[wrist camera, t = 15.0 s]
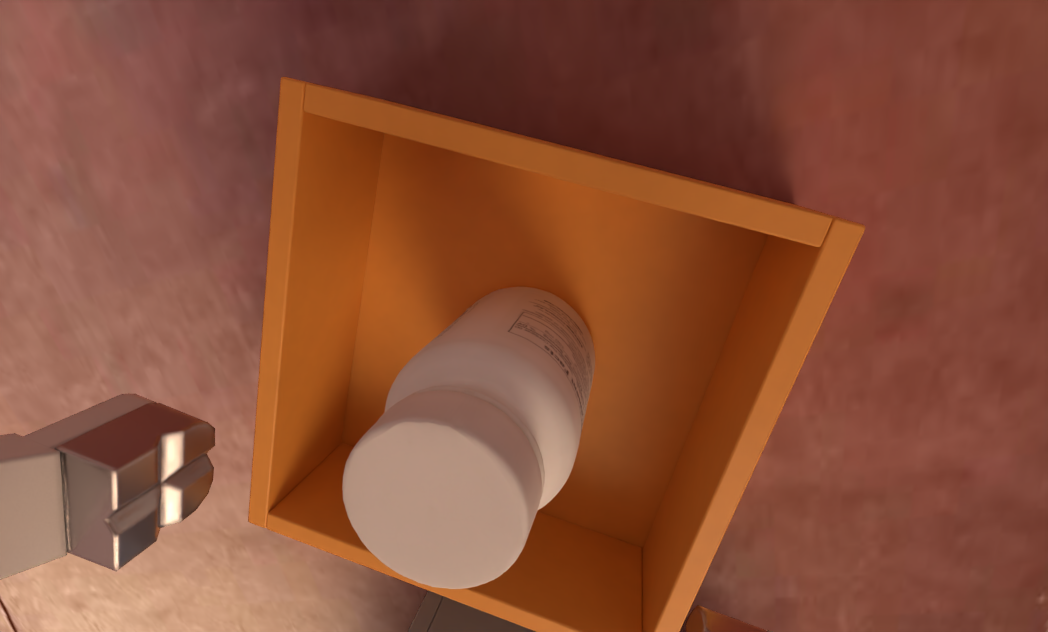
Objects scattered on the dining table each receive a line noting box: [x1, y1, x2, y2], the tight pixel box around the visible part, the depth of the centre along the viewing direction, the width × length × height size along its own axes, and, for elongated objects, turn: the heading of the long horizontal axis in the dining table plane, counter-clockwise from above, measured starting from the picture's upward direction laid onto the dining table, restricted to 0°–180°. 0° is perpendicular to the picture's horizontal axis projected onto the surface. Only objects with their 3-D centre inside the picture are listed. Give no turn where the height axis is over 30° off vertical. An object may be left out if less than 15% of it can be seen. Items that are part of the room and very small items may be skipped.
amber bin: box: [248, 77, 865, 632], centre depth 15 cm, size 12×12×5 cm
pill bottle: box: [342, 287, 595, 589], centre depth 13 cm, size 4×4×8 cm
